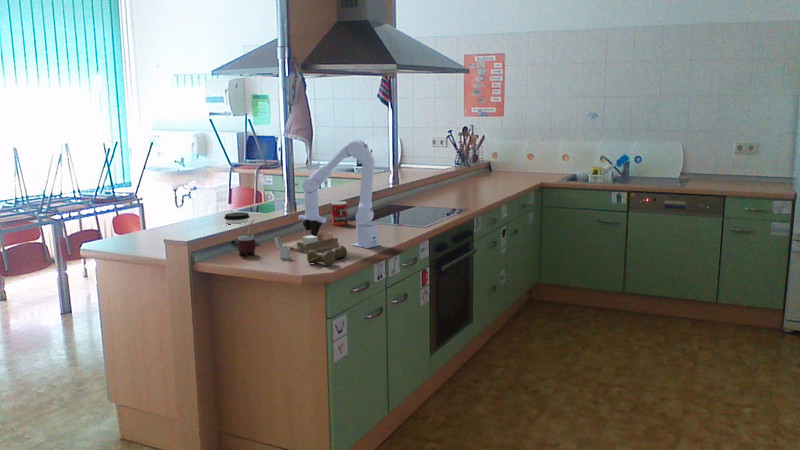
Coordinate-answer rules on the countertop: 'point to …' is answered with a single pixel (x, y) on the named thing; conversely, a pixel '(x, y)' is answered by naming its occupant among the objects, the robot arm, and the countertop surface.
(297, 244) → the lane rack
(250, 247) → the mate gourd
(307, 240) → the block
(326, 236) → the tethered block
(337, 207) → the canned food
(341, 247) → the kendama
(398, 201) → the countertop surface
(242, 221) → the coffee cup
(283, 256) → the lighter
